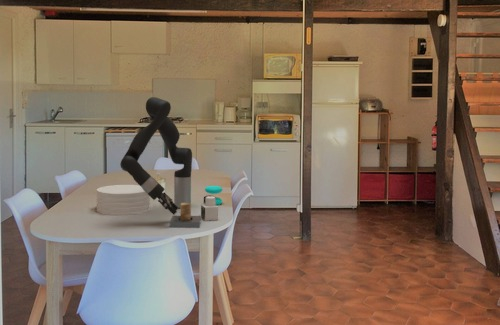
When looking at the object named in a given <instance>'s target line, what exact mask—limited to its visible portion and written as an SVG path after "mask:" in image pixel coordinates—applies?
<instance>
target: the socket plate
mask: <svg viewBox="0 0 500 325" xmlns="http://www.w3.org/2000/svg"><path fill="white" fill-rule="evenodd" d="M201 219H202V218H201V215H191V220H180V215H172V216H171V219H170V220H169V221H170V222H169V228H200V226H201V222H200V221H202V220H201Z"/></svg>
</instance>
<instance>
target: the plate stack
mask: <svg viewBox="0 0 500 325" xmlns="http://www.w3.org/2000/svg"><path fill="white" fill-rule="evenodd" d="M150 201H151V197H150V196H149V195H148V194H147V193H146V192H145V191H144V190H143V189H142V187H141V186H140V185H139V184H116V185H115V184H113V185H104V186H100V187H98V188H96V202H97V203H96V207H97V208H96V212H97V213H99V214H103V215H108V216H109V215H110V216H129V215H130V216H131V215H139V214H144V213H147V212H149V211H150V209H151V207H150V205H151V202H150Z"/></svg>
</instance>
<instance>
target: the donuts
mask: <svg viewBox="0 0 500 325" xmlns="http://www.w3.org/2000/svg"><path fill="white" fill-rule="evenodd" d="M204 192H206V193H207V194H211V195H217V194H220V193H222V192H223V187H221V186H219V185H208V186H206V187H204ZM215 197H216V204H215V205H216V206H220V205H221V204H222V203H223V200H222V199H221V198H220V197H217V196H215Z"/></svg>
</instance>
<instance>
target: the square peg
mask: <svg viewBox="0 0 500 325" xmlns="http://www.w3.org/2000/svg"><path fill="white" fill-rule="evenodd" d="M191 204H192V203H181V205H180V208H179V209H180V212H179V213H180V215H179V216H180V220H191V216H192V214H191V212H192V210H191V209H192V208H191V207H192V206H191Z"/></svg>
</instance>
